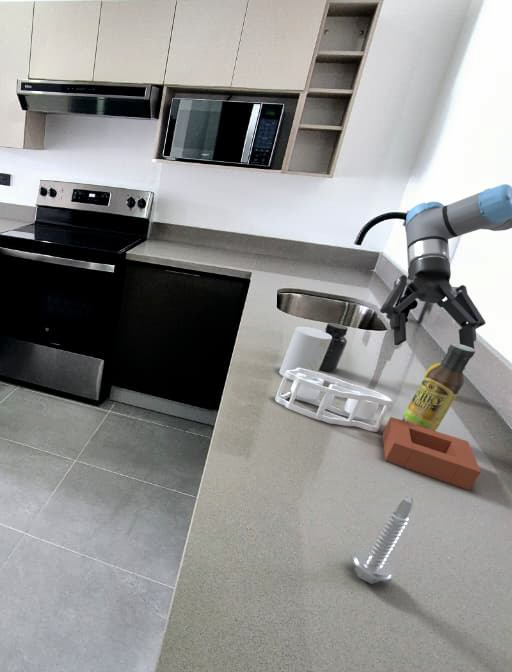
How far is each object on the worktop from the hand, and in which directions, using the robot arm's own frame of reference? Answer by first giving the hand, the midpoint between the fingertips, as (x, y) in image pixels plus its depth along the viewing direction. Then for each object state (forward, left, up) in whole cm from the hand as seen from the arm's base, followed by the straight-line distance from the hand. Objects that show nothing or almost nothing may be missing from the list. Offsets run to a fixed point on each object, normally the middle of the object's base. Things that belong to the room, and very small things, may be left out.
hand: (433, 348), depth 107 cm
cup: (+22, -5, -17) cm, 28 cm away
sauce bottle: (-3, +6, -17) cm, 18 cm away
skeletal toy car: (+15, +13, -17) cm, 26 cm away
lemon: (-9, -27, -17) cm, 33 cm away
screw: (+7, +64, -17) cm, 67 cm away
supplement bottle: (+17, -19, -17) cm, 31 cm away
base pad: (-3, +20, -17) cm, 26 cm away
